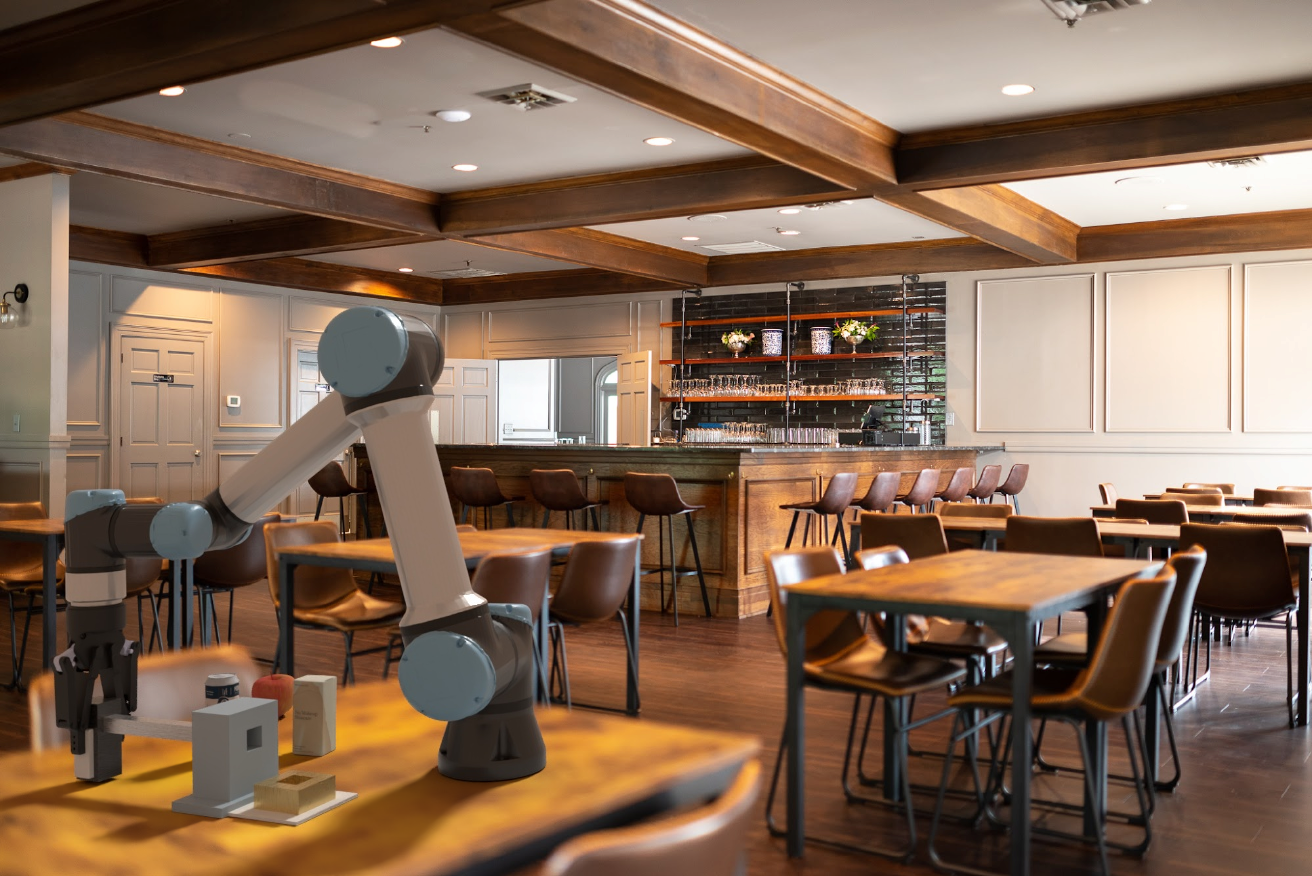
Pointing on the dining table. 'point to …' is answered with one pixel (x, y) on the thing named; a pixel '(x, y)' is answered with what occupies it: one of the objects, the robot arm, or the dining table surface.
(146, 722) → the shaft
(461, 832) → the dining table surface
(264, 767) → the bearing block
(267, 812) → the mat
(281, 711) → the apple
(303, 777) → the collar
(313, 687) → the box
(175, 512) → the robot arm
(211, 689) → the beer can
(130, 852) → the dining table surface
